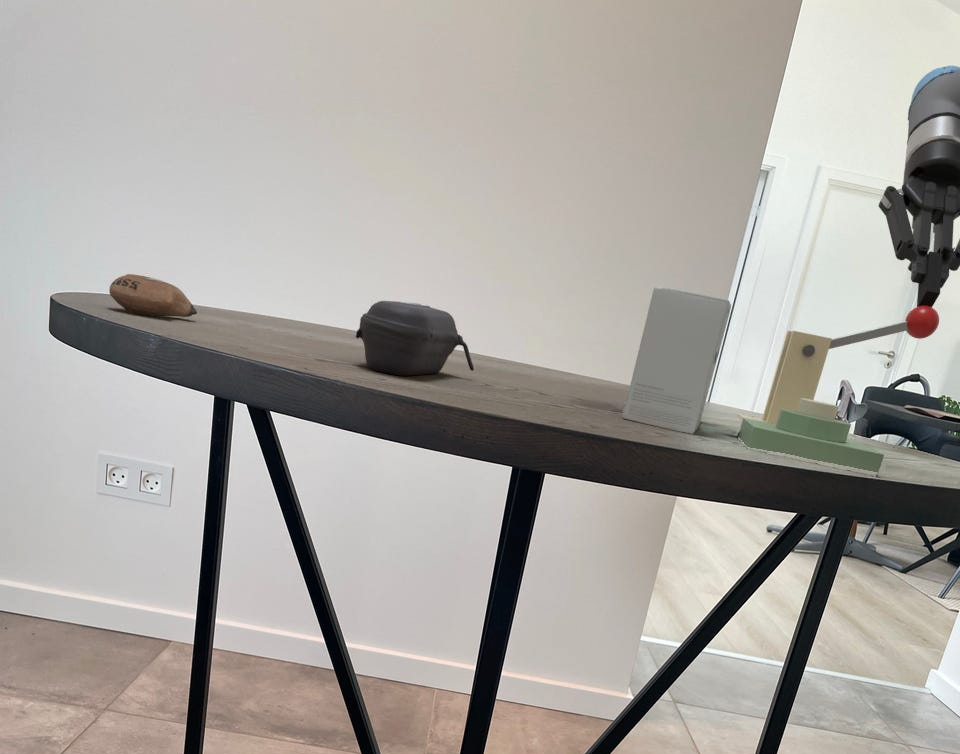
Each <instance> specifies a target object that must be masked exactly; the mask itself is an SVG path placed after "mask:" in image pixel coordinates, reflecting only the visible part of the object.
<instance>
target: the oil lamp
mask: <svg viewBox="0 0 960 754" xmlns="http://www.w3.org/2000/svg"><path fill="white" fill-rule="evenodd" d="M109 295H110V297H111V298H112V299H113V300H114V301H115V302H116V303H117V304H118V305H119V306H121V307H122V308H123V309H124V310H126V311H127V312H129V313H131V314H136V315H141V316H148V317H149V316H150V317H178V318H179V317H181V318H189V317H192V316H195V315H197V314H198V311H197V310H196V308H195V306H194V304H193V303H192V302H191V301H190V300H189V298H188V297H187V296H186V295H185V293H184V292H183V291H182V290H181V289H180V288H179V287H178V286H176V285H173V284H171V283H169V282H166V281H164V280H162V279H159V278H154V277H150V276H145V275H139V274H132V273H127V274H124V275H121V276H119V277H117V278H116V279H114V280H113V281H112V282H111V283H110V285H109Z"/></svg>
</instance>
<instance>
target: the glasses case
mask: <svg viewBox="0 0 960 754" xmlns="http://www.w3.org/2000/svg"><path fill="white" fill-rule="evenodd" d="M355 338H356V339H361V340H362V342H363V347H364V357H365V362H366V366H368V368H369V369H370V370H373V371H376V372H379V373H384V374H389V375H395V376H399V377H402V376H403V377H406V376H420V375H421V376H422V375H432V374H438V373H439V372H440V371H442V369H443V368H444V366H445V364H446V362H447V360H448V358H449V357H450V355H451V354H452V353H453V352H454V351H455V349H456V347H457V346H462V348H463V351H464V355H465V358H466V361H467V364H468V367H469V370H470V371H472V372H474V370H475V368H474V364H473V360H472V357H471V355H470V350H469V346H468V344H467V343H466V342H465V340H464V338H463V336H462V335H460V334H459V333H458V329H457V326H456V321H455V319H454V317H453V316H452V314H451V313H449V312H448V311H446V310H441V309H438V308H435V307H431V306H429V305H427V304H425V303H417V302H409V301H393V300H379V301H377V302H375V303H373V304H372V305H371V306H370V308H369V309H368V311H367V312H366V313H363V314H362V316H361V317H360V319H359V328H358V329H357V330H356V334H355Z"/></svg>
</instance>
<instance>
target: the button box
mask: <svg viewBox="0 0 960 754" xmlns="http://www.w3.org/2000/svg"><path fill="white" fill-rule="evenodd" d="M851 426H852V424H851V423H849V422H847V421H843V420H839V419H836V418H835V421H832V420H826V419H821V418H817V417H812V416H808V415H804V414H800V413H797V411H794V410H789V409H780V413H779V416H778V420H777V423H776V424H771V423H766V422H761V421H757V420H752V419H747V418H743V420H741V424H740V428H739V432H738V435H737V438H738V437H739V438H740V439H741V440H742V442H744V444H745V445H746V446H747V447H750V448H756V449H763V450H767V451H773V452H780V453H785V454H790V455H795V456H799V457H803V458H807V459H812V460H817V461H823V462H828V463H834V464H838V465H843V466H849V467H854V468H858V469H863V470H868V471H873V472H878V473H879V471H880V469H881V466H882V464H883V463H882V462H883V460H884V457H885V454H884V453H883V452H881V451H879V450H876V449H874V448H872V447H870V446H869V445H867V444H865V443H862V442H861V441H855V440H851V439H848V436H849V433H850V429H851Z"/></svg>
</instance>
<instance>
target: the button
mask: <svg viewBox="0 0 960 754" xmlns="http://www.w3.org/2000/svg"><path fill="white" fill-rule="evenodd" d="M839 408H840V406H839V405H837V404H832V403H828V402H824V401H819V400H815V399H814V400H810V399H805V398H801V399H800V403H799V406H798V410H797V413H800V414H804V415H808V416H812V417H817V418H821V419H826V420H832V421H835V419H836V417H837V415H838V411H839Z"/></svg>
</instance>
